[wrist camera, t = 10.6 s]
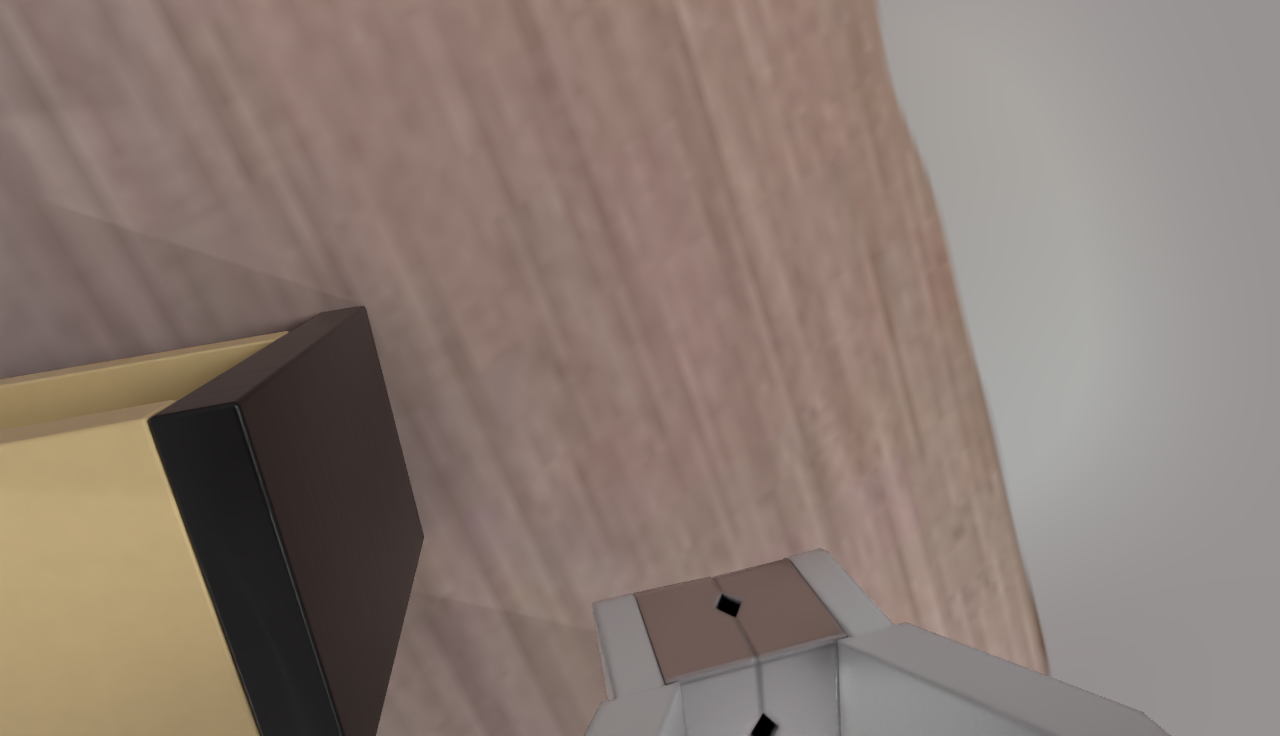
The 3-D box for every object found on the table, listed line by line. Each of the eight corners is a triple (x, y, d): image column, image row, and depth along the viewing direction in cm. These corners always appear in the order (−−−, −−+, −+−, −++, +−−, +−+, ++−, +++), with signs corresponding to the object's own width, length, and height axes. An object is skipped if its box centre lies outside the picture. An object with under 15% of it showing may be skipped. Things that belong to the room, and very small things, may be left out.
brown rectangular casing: (-151, 390, 16) (-895, 605, 8) (365, 304, 18) (237, 401, 9) (-33, 637, 18) (-520, 1034, 9) (424, 537, 20) (363, 796, 11)
